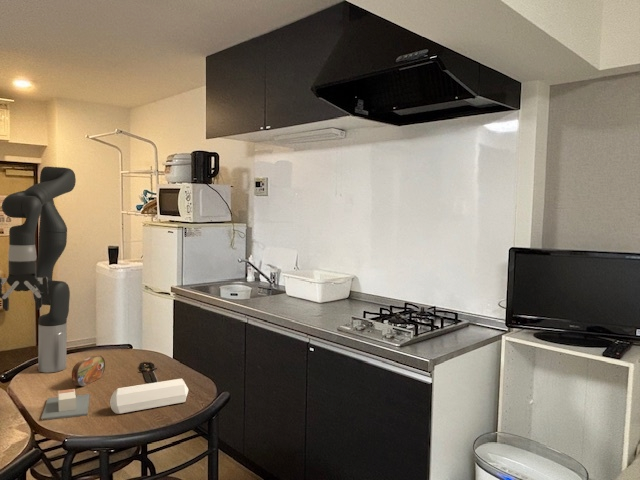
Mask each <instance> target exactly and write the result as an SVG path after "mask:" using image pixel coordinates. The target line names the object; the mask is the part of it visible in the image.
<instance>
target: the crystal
mask: <svg viewBox="0 0 640 480" xmlns="http://www.w3.org/2000/svg"><path fill="white" fill-rule="evenodd" d="M188 393H189V388H188V386H187V384H186V382H185V380H184V379H183V378H175V379H170V380H163V381H162V380H161V381H158V382H156V383H153V382H152V383H149V382H148V383H145V384H143V383H142V384H138V385H131V386H125V387H118V388H117V389H115V390H114V391H113V393H112V395H111V397H110V402H109V405H110V408H111V411H113V413H115V414H116V415H117V414H124V413H131V412H135V411H141V410H142V411H143V410H147V409H152V408H153V409H154V408H157V407H165V406H169V405H174V404H181V403H185V402H186V400H187V398H188V397H187V396H188Z"/></svg>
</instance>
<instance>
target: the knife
mask: <svg viewBox="0 0 640 480" xmlns="http://www.w3.org/2000/svg"><path fill="white" fill-rule="evenodd" d="M144 364H146V365H144ZM145 368H147V369H148V368H149V370H147V369H145ZM150 368H151V369H150ZM154 370H158V367H155V364H154V363H153V362H151V361H143V362H140V364H139V369H138V372H141V373H142V374H143V377H144V379H145V382H146V383H148V384H149V383H156V382H159V380H158V377H157V374H156V372H155V371H154Z"/></svg>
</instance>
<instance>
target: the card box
mask: <svg viewBox="0 0 640 480" xmlns="http://www.w3.org/2000/svg"><path fill="white" fill-rule="evenodd" d="M57 397H58V406H59V412H60V411H67V410H74V409H76V389H75V388H72V389H71V388H70V389H63V390H58V392H57Z"/></svg>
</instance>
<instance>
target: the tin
mask: <svg viewBox="0 0 640 480" xmlns="http://www.w3.org/2000/svg"><path fill="white" fill-rule="evenodd" d="M105 370H106V360H105V358H104V357H103V356H102V355H91V356H89V357H87V358H85V359H82V360H80V361H78V362H77V363H75V364H74V366H73V367H72V371H71V381H72V383H73V385H75V386H78V387H86V386H87V385H90V384H92V383H94V382H95V381H97V380H100V379H101V378H102V376H103V375H104V373H105Z"/></svg>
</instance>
